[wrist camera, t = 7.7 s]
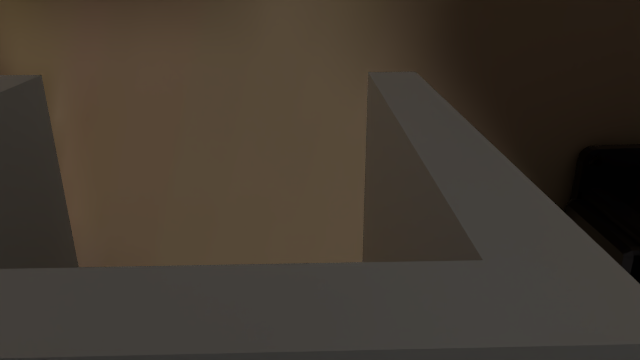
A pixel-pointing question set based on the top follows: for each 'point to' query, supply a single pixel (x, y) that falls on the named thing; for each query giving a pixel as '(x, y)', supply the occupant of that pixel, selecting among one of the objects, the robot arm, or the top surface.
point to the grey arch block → (325, 278)
